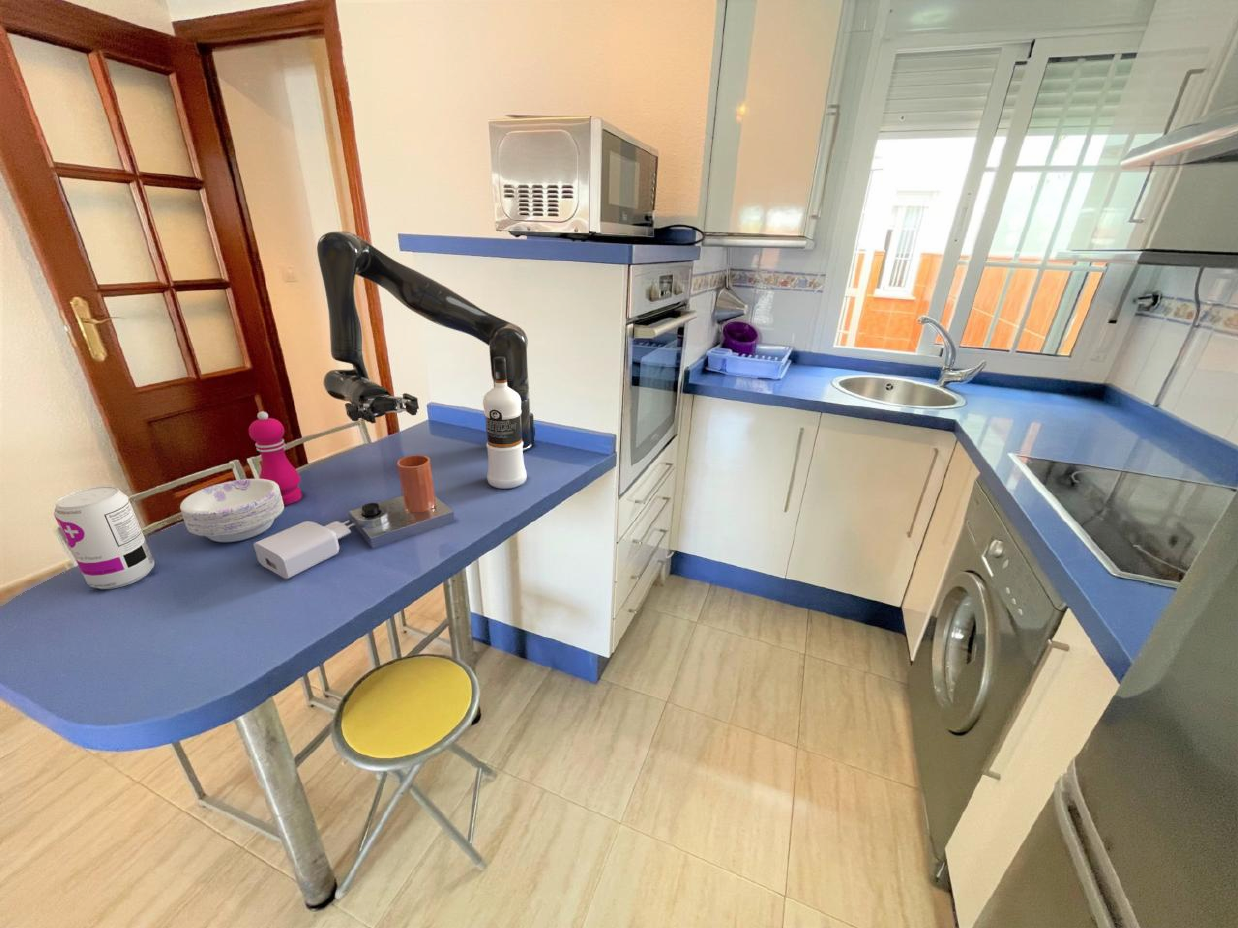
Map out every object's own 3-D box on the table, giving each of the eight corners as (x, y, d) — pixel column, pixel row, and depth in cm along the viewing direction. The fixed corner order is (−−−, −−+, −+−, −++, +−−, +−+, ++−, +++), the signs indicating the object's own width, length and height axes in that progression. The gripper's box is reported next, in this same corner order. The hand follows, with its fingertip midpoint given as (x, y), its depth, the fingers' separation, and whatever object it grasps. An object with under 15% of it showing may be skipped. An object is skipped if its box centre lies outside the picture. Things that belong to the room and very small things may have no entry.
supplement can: (99, 598, 78) (59, 514, 72) (82, 579, 82) (42, 499, 76) (164, 572, 85) (132, 493, 79) (144, 556, 89) (112, 480, 83)
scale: (428, 498, 112) (426, 482, 110) (454, 521, 103) (452, 504, 101) (348, 522, 101) (344, 504, 100) (370, 550, 93) (366, 531, 91)
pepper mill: (311, 493, 112) (290, 407, 104) (289, 508, 105) (265, 418, 97) (281, 490, 113) (258, 405, 104) (257, 506, 106) (230, 416, 98)
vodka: (534, 477, 123) (528, 355, 111) (513, 493, 115) (505, 363, 103) (501, 471, 126) (493, 351, 114) (479, 485, 118) (468, 358, 106)
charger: (369, 540, 96) (289, 581, 84) (339, 526, 100) (258, 564, 88) (365, 518, 94) (282, 557, 82) (334, 505, 98) (251, 541, 86)
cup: (428, 495, 108) (422, 452, 104) (440, 506, 104) (434, 462, 99) (399, 504, 104) (392, 460, 100) (411, 515, 100) (403, 470, 96)
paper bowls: (258, 504, 107) (248, 470, 103) (305, 522, 101) (296, 487, 98) (174, 538, 94) (160, 500, 91) (222, 560, 88) (208, 521, 85)
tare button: (377, 509, 99) (375, 501, 99) (382, 514, 97) (381, 507, 97) (361, 513, 97) (359, 505, 97) (366, 519, 95) (364, 511, 95)
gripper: (332, 387, 112) (355, 404, 101) (397, 377, 121) (424, 392, 110) (339, 418, 115) (362, 438, 104) (402, 407, 124) (429, 424, 113)
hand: (394, 414), depth 107 cm, fingers open, 8 cm apart
